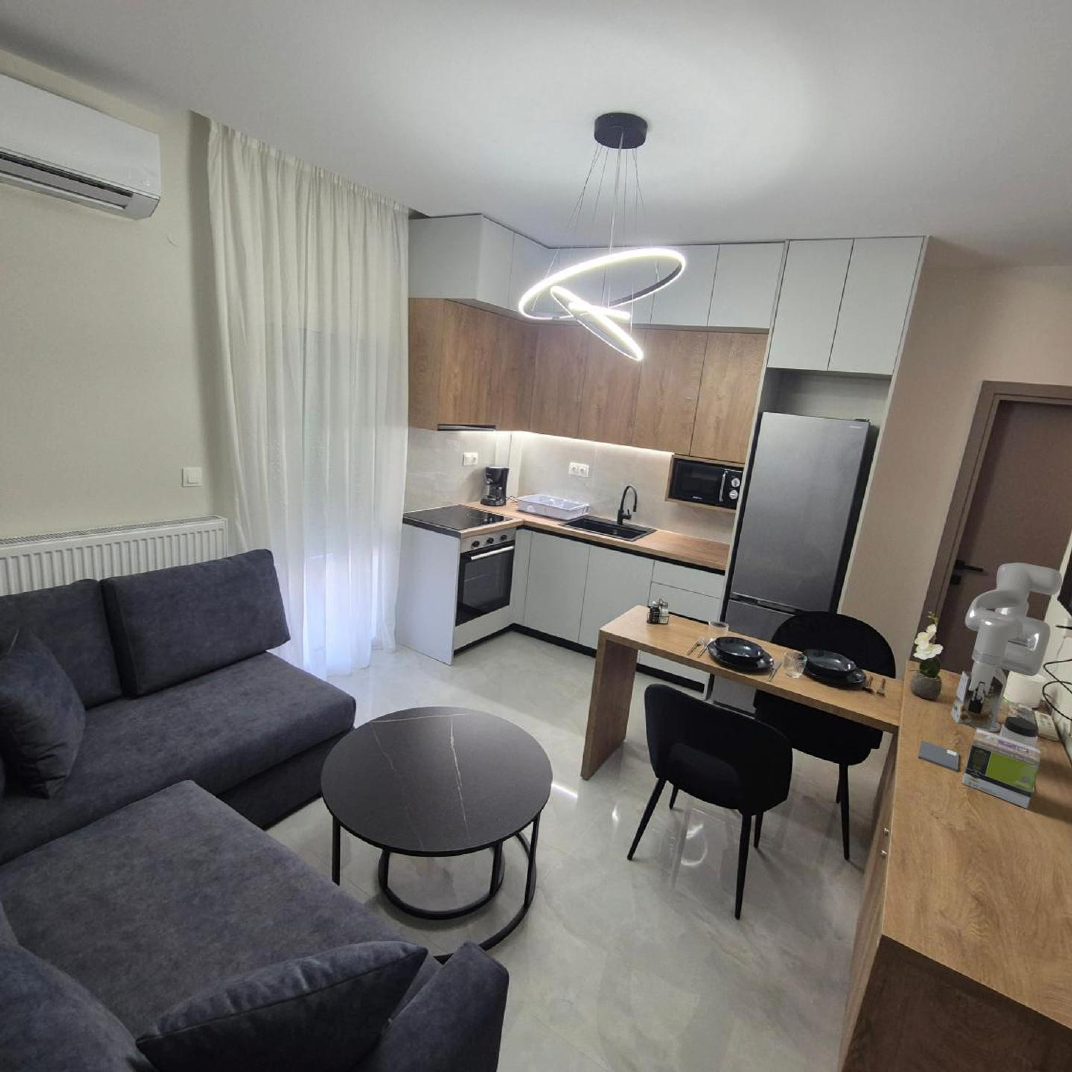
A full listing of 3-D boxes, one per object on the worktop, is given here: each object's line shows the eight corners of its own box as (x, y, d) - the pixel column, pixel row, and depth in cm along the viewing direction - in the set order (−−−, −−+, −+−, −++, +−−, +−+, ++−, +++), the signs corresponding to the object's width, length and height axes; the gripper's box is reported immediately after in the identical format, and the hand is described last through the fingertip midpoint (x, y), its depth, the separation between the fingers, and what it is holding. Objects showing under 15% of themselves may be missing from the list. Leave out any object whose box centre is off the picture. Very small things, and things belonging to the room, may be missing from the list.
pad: (921, 742, 187) (921, 740, 187) (958, 755, 182) (958, 752, 181) (918, 757, 178) (918, 755, 178) (957, 771, 172) (957, 769, 172)
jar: (1033, 759, 183) (1043, 725, 180) (1027, 767, 178) (1037, 733, 175) (998, 745, 190) (1007, 713, 187) (992, 753, 184) (1001, 720, 182)
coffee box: (956, 724, 183) (968, 678, 179) (950, 714, 189) (961, 669, 185) (990, 730, 180) (1003, 684, 176) (983, 720, 186) (995, 675, 182)
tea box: (1029, 794, 164) (1043, 748, 161) (1027, 810, 157) (1041, 762, 153) (965, 769, 174) (977, 726, 171) (960, 783, 166) (973, 738, 163)
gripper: (973, 644, 188) (960, 692, 192) (972, 662, 175) (958, 713, 179) (1002, 651, 184) (988, 700, 188) (1003, 670, 170) (988, 722, 174)
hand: (974, 706), depth 183 cm, fingers closed on coffee box, 7 cm apart
